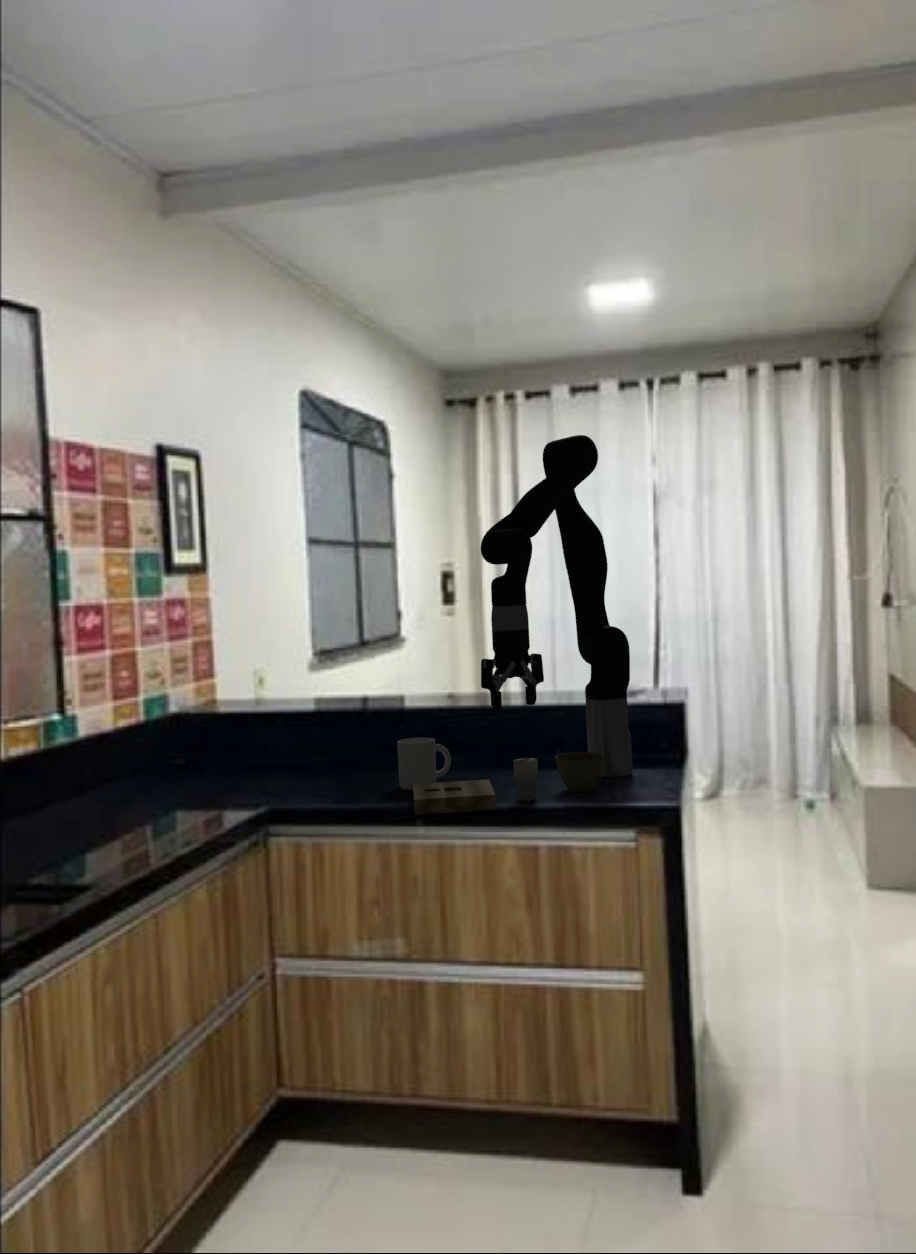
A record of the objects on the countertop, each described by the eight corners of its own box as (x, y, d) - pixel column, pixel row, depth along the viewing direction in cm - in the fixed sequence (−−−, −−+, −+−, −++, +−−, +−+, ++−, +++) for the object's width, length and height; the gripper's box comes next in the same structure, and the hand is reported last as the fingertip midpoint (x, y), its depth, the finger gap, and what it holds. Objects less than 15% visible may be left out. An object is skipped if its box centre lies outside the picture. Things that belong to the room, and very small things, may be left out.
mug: (446, 779, 248) (444, 734, 248) (458, 786, 241) (455, 739, 240) (395, 785, 245) (392, 739, 244) (405, 792, 237) (402, 744, 236)
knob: (528, 795, 226) (526, 756, 226) (544, 799, 222) (542, 758, 222) (510, 799, 223) (508, 759, 223) (526, 803, 219) (524, 762, 219)
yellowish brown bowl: (549, 793, 227) (547, 759, 227) (567, 784, 236) (566, 751, 236) (594, 796, 223) (593, 761, 222) (611, 786, 231) (610, 752, 231)
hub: (489, 793, 230) (488, 778, 230) (496, 809, 214) (495, 793, 214) (413, 798, 230) (412, 782, 229) (414, 815, 214) (413, 798, 213)
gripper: (526, 625, 230) (530, 702, 230) (470, 630, 222) (475, 709, 222) (549, 625, 223) (552, 704, 224) (492, 630, 215) (496, 712, 216)
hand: (514, 707), depth 223 cm, fingers open, 8 cm apart
